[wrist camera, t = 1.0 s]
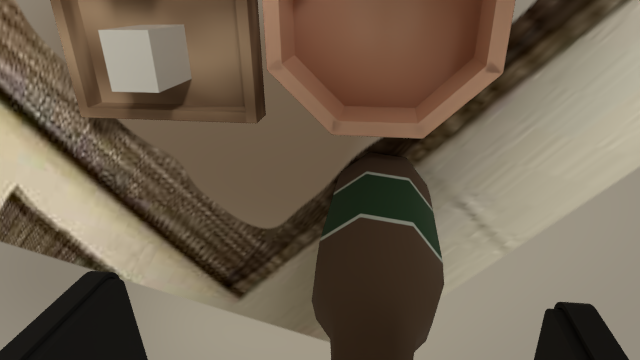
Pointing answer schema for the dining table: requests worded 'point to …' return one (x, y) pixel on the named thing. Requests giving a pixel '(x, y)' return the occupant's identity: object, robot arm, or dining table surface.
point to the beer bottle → (378, 262)
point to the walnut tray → (203, 50)
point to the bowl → (385, 59)
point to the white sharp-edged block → (145, 57)
